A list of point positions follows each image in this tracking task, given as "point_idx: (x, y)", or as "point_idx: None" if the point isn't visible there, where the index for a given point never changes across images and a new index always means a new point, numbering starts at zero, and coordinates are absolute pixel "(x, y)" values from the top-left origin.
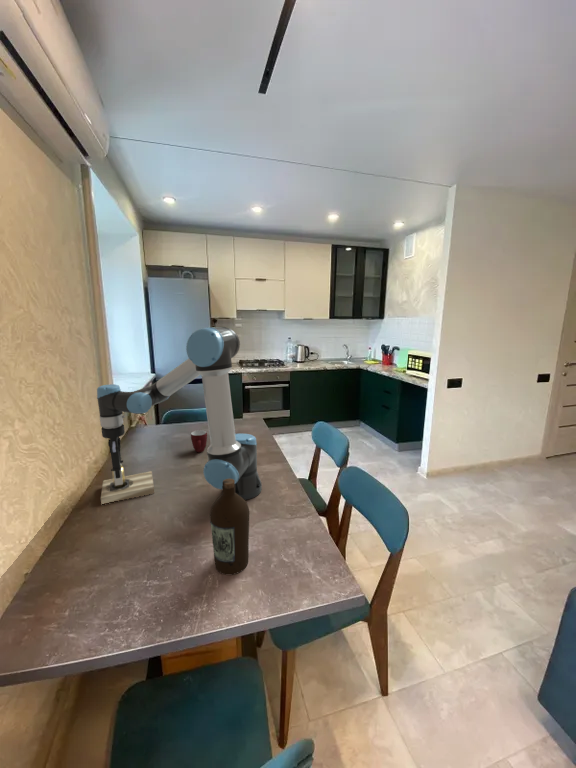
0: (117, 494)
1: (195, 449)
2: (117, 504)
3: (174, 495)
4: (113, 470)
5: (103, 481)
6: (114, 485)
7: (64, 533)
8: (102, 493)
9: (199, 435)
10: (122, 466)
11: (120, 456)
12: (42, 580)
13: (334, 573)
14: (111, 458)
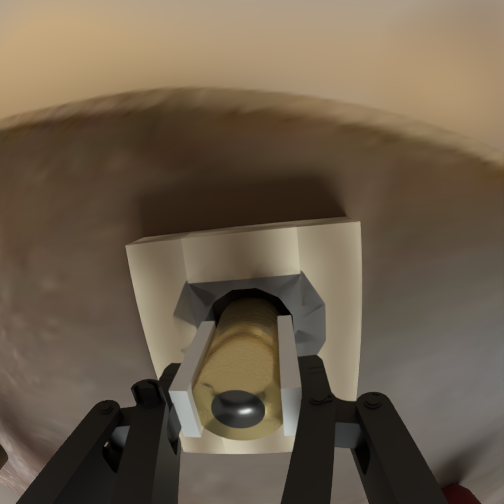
0: (143, 325)
1: (446, 494)
2: (134, 307)
3: None
4: (96, 408)
5: (344, 224)
6: (228, 311)
7: (17, 151)
8: (172, 246)
9: None
10: (256, 435)
11: (356, 466)
12: None
13: (7, 485)
14: (29, 487)
